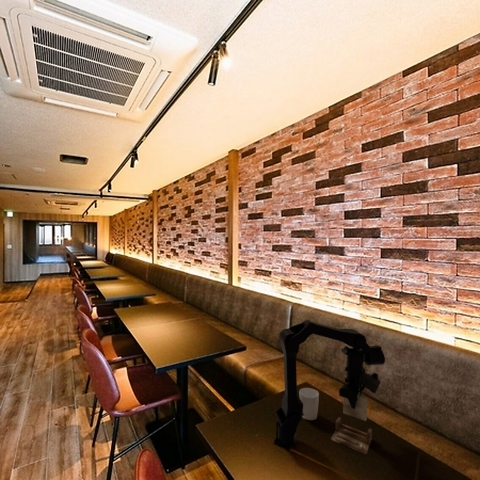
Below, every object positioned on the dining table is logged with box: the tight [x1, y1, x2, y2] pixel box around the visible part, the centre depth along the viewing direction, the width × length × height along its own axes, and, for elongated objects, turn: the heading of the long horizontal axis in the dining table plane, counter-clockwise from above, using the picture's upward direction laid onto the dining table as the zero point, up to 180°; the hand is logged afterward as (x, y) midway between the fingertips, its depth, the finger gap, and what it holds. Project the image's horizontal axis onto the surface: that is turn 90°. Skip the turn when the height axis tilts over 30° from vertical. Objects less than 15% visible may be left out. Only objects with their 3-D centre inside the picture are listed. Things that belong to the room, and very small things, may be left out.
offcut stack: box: [335, 432, 363, 452], centre depth 101 cm, size 9×3×2 cm, turn 54°
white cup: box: [298, 387, 320, 421], centre depth 118 cm, size 8×8×10 cm
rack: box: [330, 416, 373, 455], centre depth 104 cm, size 12×10×4 cm
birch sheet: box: [342, 394, 368, 422], centre depth 106 cm, size 8×2×8 cm, turn 54°
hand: (354, 407), depth 106 cm, fingers closed on birch sheet, 1 cm apart
